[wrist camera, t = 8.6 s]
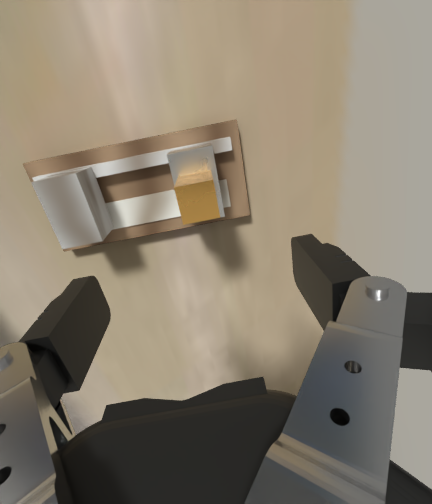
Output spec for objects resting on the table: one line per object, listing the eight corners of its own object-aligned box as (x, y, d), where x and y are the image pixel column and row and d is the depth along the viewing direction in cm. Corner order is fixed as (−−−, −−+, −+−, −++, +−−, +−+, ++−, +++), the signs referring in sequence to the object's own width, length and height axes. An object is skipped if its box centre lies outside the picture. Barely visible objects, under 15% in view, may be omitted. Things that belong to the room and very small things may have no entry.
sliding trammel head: (185, 211, 31) (181, 243, 23) (171, 150, 28) (160, 161, 20) (221, 204, 30) (229, 233, 23) (210, 142, 28) (215, 150, 20)
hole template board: (69, 246, 34) (41, 272, 28) (30, 161, 29) (-12, 171, 24) (247, 211, 33) (258, 230, 27) (235, 119, 29) (244, 119, 23)
